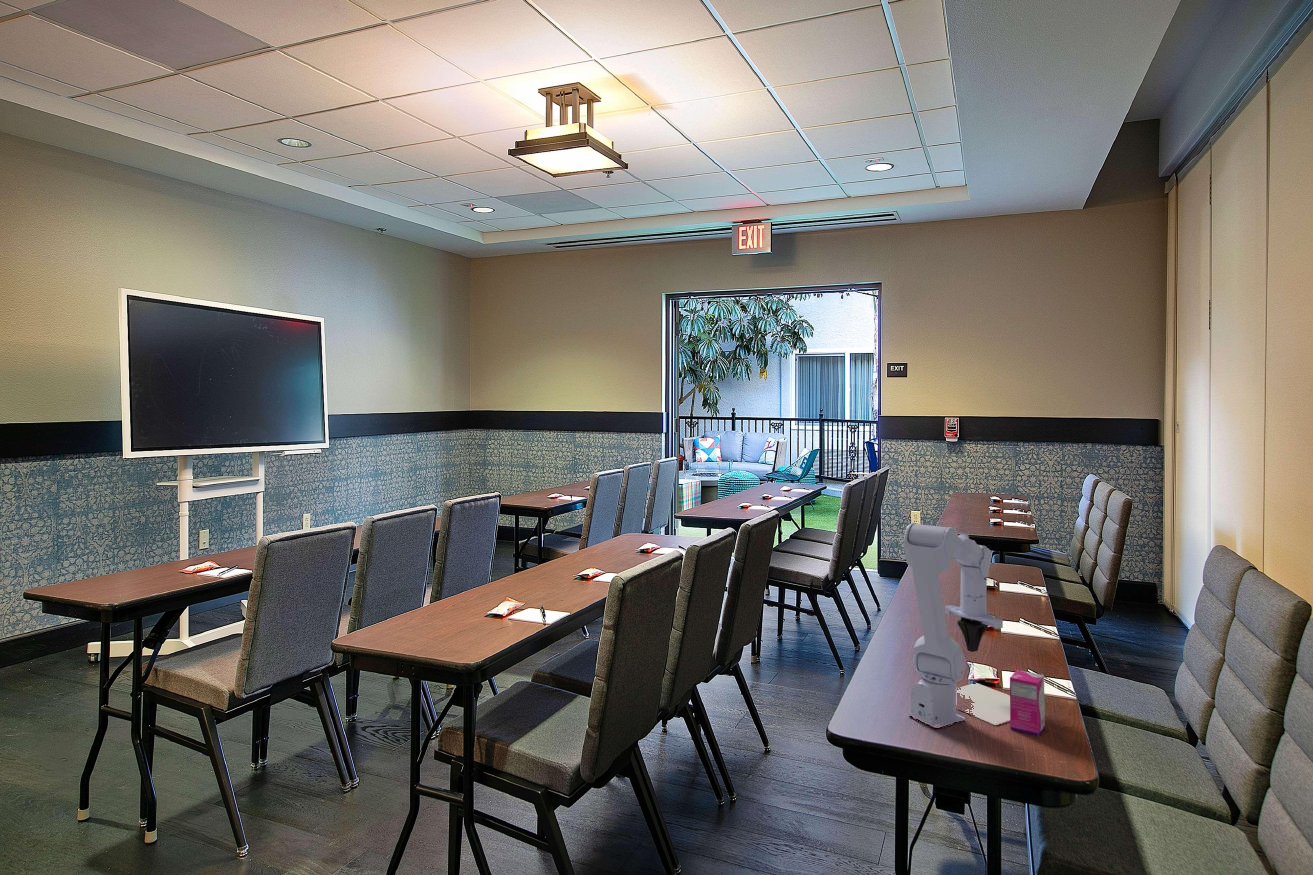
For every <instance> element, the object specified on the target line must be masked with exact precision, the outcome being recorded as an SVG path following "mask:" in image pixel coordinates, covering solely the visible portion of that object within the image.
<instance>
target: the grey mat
mask: <svg viewBox="0 0 1313 875" xmlns="http://www.w3.org/2000/svg"><path fill="white" fill-rule="evenodd" d="M975 683H976V684H973V683H971V684H967V685H964V686H963V685H962V686H960V688H961V690H960V689H959V687H957V688H958V689H959V690H957V693H960V696H961V697H962V698H963V696H962V695H965V699H970V698H971V700H972V701H973V702H975V703H971V704H972V705H973V706H974V707H973V708H974V709H973V708H972V710H970V711H972V712H970V713H973V715H975V717H977V718H979V719H981V720H980V721H982V720H984V721H986V722H989V723H990V724H989V723H988V724H989V725H991V724H993V725H995V726H994V727H997V726H996V725H998V726H999V724H1001V725H1004V724H1007V723H1010V694H1007V693H1005V692H1002V691H999V690H996V689H993V688H991V687H988V686H986V685H982V684H981V683H977V682H975ZM961 694H962V695H961ZM969 696H970V698H969ZM972 705H971V707H972ZM965 711H968V712H966V713H969V709H967V710H965ZM975 717H974V718H975ZM977 718H976V719H977ZM979 719H978V720H979ZM984 721H983V722H984ZM986 722H985V723H986ZM1006 722H1007V723H1006ZM1003 723H1004V724H1003ZM993 725H992V726H993Z"/></svg>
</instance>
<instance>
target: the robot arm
mask: <svg viewBox="0 0 1313 875" xmlns="http://www.w3.org/2000/svg"><path fill="white" fill-rule="evenodd" d="M969 537H970V536H969V535H968V534H965V533H960V534H959V535H958V530H957V529H956V528H955V527H953V526H948V527H947V526H938V525H932V524H931V525H930V524H922V523H916V522H911V523H909V524H908V525H907V526H906V529H905V531H904V536H903V541H902V544H903V549H904V556H905V560H906V564H907V565H908V566H909V567H910V568H911V571H912V572H911V573H912V578H913V584H914V589H915V594H916V599H917V605H918V610H919V611H918V612H919V617H920V618H919V619H920V623H921V627H922V628H921V629H922V634H923V635H922V636H921V637H920V636H919V638H917V640H916V642H915V644H914V645H913V658H912V659H913V666H914V668H915V670H916V672H918V677H920V680H919V681H918V682H916V683H914V685H912V686H911V690H910V692H911V695H910V696H911V699H910V701H911V702H910V706H911V707H910V709H911V710H910V713H911V715H913V716H915V717H917V718H919V719H921V720H923V721H925V722H927V723H929V724H931V725H935V724H940V725H941V726H943V725H946V724H950V723H954V722H957V723H959V722H958V721H961V722H963V720H964V721H966V717H964V716H962V715H959V714H958V713H957V710H956V705H957V688H958V687H957V686H958V683H959V682H961V680H962V679H963V678H964V676H965V674H966V671H967V670H966V669H967V659H966V657H965V655H964V653H963V649H962V646H961V644H959V643H958V642H957V641H956V640H954V639H953V638H952V637H951V636H949V631H948V626H947V620H946V619H947V618H946V615H951V616H955V617H958V618H960V620H957V625H958V627H959V629H960V631H961V632H962V635H963V638H964V641H965V644H966V649H967V651H968V652H971V653H974V652H977V651H978V650H979V646H980V643H981V641H982V639H983V638H982V637H983V635H984V634H985V632H986V631H987V629H988V627H989V626H990V627H992V628H993V629H996V630H998V629H1003V626H1004V624H1003V623H1004V622H1003V621H1004V620H1003V619H1002V618H999V617H996V616H994V615H992V614H990V613H989V612H988V611H987V593H988V592H987V587H988V586H987V584H988V583H987V582H988V578H987V577H989V575H990V568H991V567H990V566H991V561H992V553H991V550H990V548H988V547H987V546H986V545H981V544H977V542H976V541H975V540H973V539H970V538H969ZM953 560H955V561H956V564H957V567H960V591H959V592H960V595H959V596H960V598H959V599H960V600H959V601H960V604H959V606H958V605H957V606H956V605H951V604H950V605H949V604H948V605H945V606H944V598H943V594H942V589H941V588H942V587H941V582H940V576H939V575H940V574H942V573H944V572H946V571H949V569H950V566H951V565H952V562H953ZM942 723H943V725H942ZM954 724H955V723H954Z"/></svg>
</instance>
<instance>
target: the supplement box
mask: <svg viewBox="0 0 1313 875" xmlns="http://www.w3.org/2000/svg"><path fill="white" fill-rule="evenodd" d="M1009 695H1010V722H1009V723H1010V725H1009V729H1010V730H1012V731H1016V732H1020V733H1024V734H1028V735H1031V736H1035V737H1036V736H1037V737H1040V735H1041V734H1042V733H1043V731H1044V729H1045V728H1046V723H1045V675H1044V674H1040V673H1034V672H1028V671H1024V670H1018V669H1016V670H1015V672H1013V674H1011V676H1010V677H1009Z"/></svg>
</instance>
